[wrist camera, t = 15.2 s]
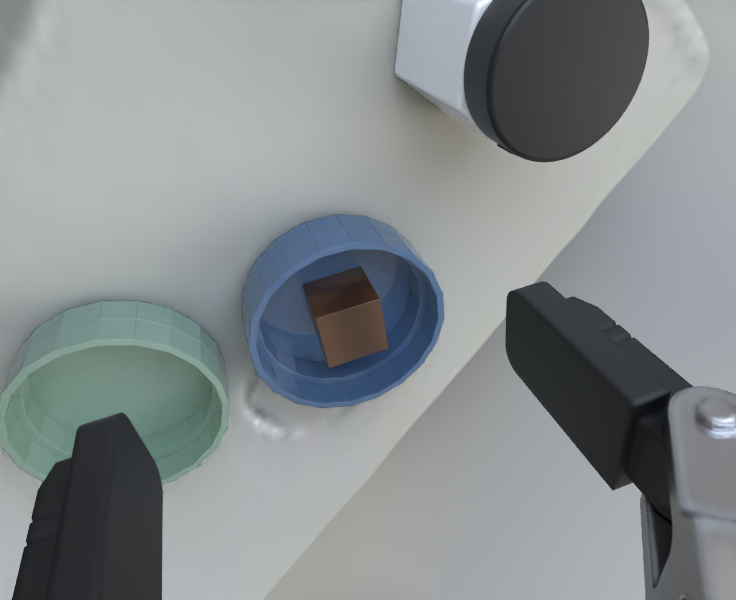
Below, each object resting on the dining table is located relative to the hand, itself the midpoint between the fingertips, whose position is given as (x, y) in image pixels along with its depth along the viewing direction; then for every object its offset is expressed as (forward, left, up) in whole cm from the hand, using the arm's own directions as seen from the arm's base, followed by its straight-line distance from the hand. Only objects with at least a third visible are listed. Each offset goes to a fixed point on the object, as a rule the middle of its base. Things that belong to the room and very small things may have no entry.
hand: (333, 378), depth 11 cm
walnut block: (+9, -14, -25) cm, 29 cm away
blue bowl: (+8, -14, -25) cm, 30 cm away
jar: (+13, +5, -25) cm, 29 cm away
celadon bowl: (-7, -21, -25) cm, 33 cm away
